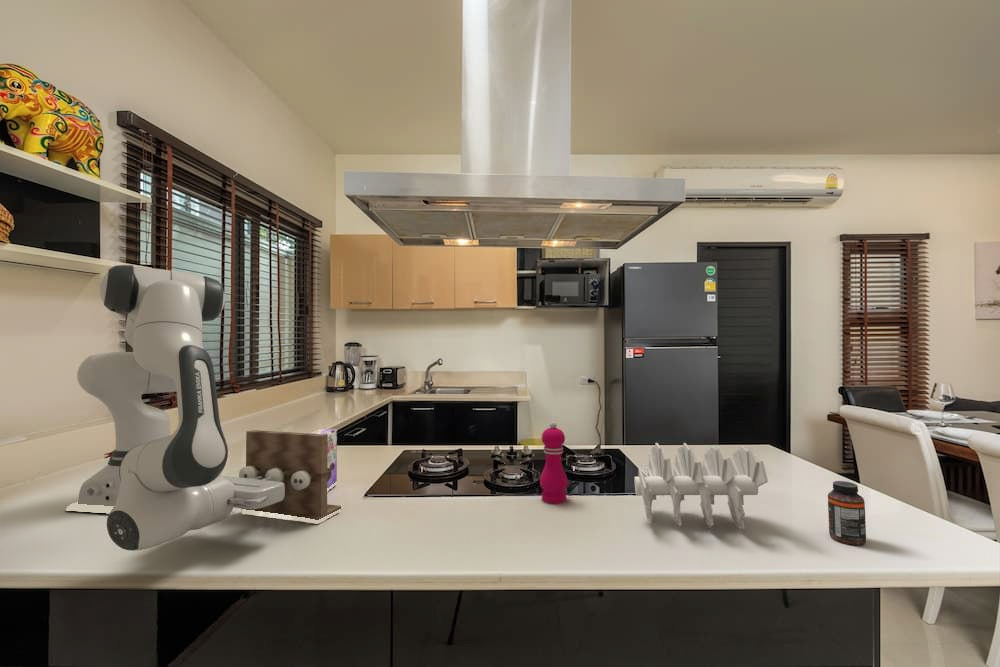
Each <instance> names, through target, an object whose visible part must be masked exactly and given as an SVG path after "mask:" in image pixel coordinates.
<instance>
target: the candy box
mask: <svg viewBox="0 0 1000 667" xmlns="http://www.w3.org/2000/svg"><path fill="white" fill-rule="evenodd" d="M309 433H310V434H327V435H328V463H327V488H329V487H330V486H331V485H332V484H334V483H335V482H336V481H337V482H338V479H337V478H338V477H337V476H338V472H337V471H338V469H337V468H338V465H337V464H338V462H337V461H338V458H337V457H338V456H337V455H338V452H337V451H338V441H337V440H338V436H337V435H338V429H335V428H333V429H330V428H329V429H326V428H324V429H317V430H314V431H312V432H309Z"/></svg>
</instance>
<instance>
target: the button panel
mask: <svg viewBox="0 0 1000 667" xmlns="http://www.w3.org/2000/svg"><path fill="white" fill-rule="evenodd" d="M310 433H311V432H309V433H308V432H307V433H305V432H293V431H277V430H275V431H273V430H260V429H259V430H258V429H252V430H246V435H245V437H246V438H245V439H246V440H245V441H246V442H245V467H247V466H254V467H255V468H256V470H257V469H260V468H261V474H259V475H258V476H257V477H260V476H263V477H265V475H266V472H267V471H268V470H270V469H273V468H280V469H281V470H282V471H286V476H285V477H284V481H283V483H284V485H285V496H284V499H283V500H282V501H280V502H278V503H275V504H272V505H269V506H266V507H263V508H259V509H246V510H255V511H263V512H270V513H278V514H284V515H291V516H297V517H305V518H310V519H315V520H319V519H321V518H323V517H325V516H327V515H329V514H331V513H333V512H335V511H337V510H339V509H341V510H342V506H341V505H336V504H330V503H329V504H328V493H327V463H328V435H327V434H310ZM301 470H304V471H306V472H308V474H310V473H312V479H311V480H310V484H309V486H308V487H307V488H304V489H302V490H296V489H294V488H293V486H292V484H291V477H292V475H293V474H294V473H296V472H298V471H301Z"/></svg>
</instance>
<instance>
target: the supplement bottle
mask: <svg viewBox="0 0 1000 667" xmlns="http://www.w3.org/2000/svg"><path fill="white" fill-rule="evenodd" d="M832 488H833V489H832V490H831V491H830V492H829V491H828V493H827V510H828V511H827V512H828V513H827V514H828V532H829V536H830V538H831V539H833V540H834V541H836V542H839V543H842V544H845V545H851V546H861V545H865V544H866V542H867V530H866V528H867V525H866V524H867V522H866V507H865V506H866V503H865V499H864V497H862V495H860V494H859V493H858V492H859V487H858V484H856V483H854V482H851V481H844V480H836V481H833V482H832Z"/></svg>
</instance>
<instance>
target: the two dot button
mask: <svg viewBox="0 0 1000 667" xmlns="http://www.w3.org/2000/svg"><path fill="white" fill-rule="evenodd" d="M311 479H312V473H310V474H308V472H306V471H304V470H301V471H298V472H296V473H294V474H293V475H292V477H291V484H292V486H293V488H294V489H296V490H302V489H304V488H307V487H308V486H309V484H310V480H311Z"/></svg>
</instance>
